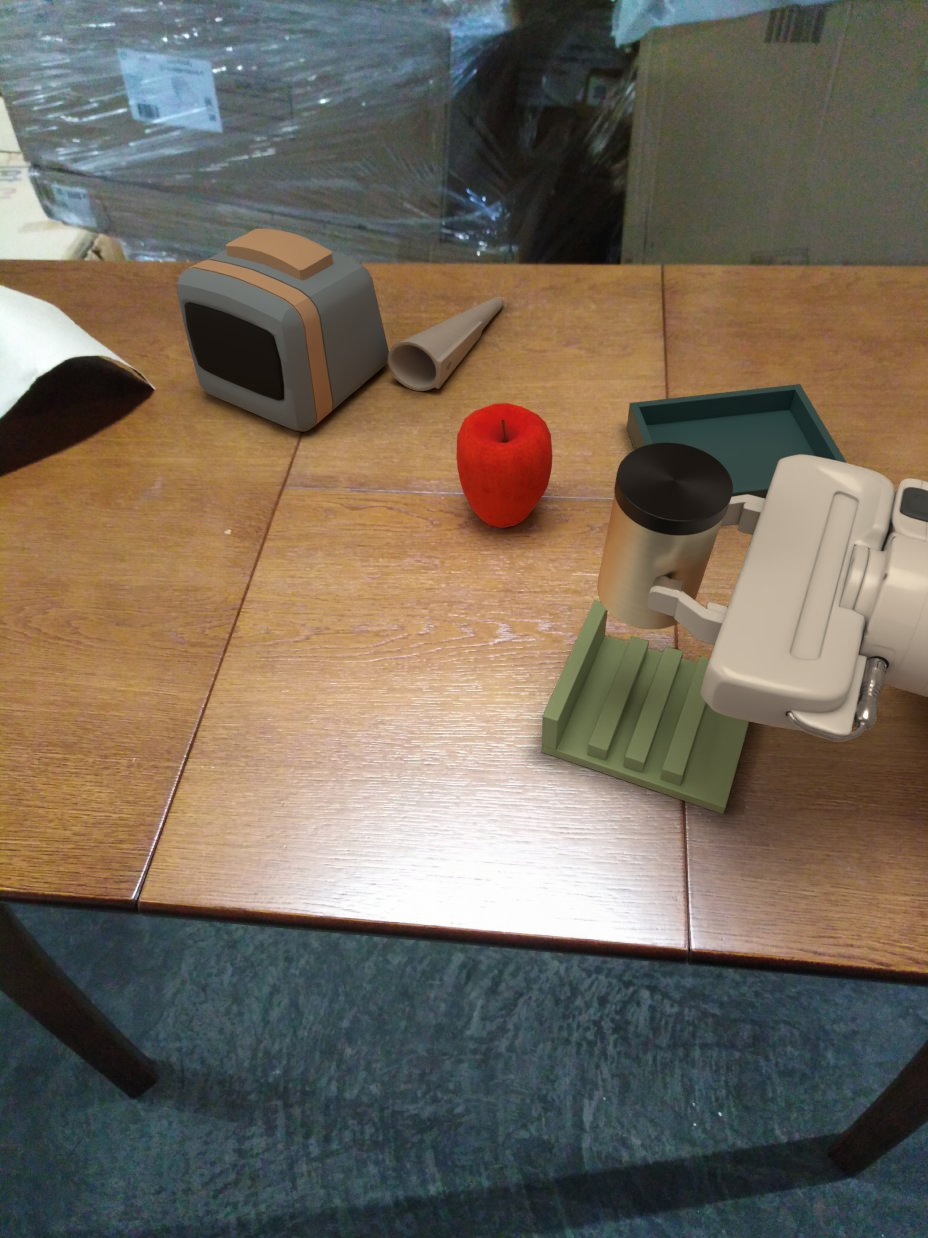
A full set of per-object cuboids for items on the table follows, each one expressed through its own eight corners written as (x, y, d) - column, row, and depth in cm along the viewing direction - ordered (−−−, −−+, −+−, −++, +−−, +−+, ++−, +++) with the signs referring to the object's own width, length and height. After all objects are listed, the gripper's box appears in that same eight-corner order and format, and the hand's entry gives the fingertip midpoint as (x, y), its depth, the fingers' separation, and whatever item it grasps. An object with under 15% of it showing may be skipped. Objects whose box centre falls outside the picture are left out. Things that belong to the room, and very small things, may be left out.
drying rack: (758, 687, 71) (771, 649, 68) (723, 814, 65) (735, 780, 61) (590, 638, 75) (594, 599, 72) (540, 752, 69) (542, 716, 65)
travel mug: (680, 550, 63) (713, 438, 55) (709, 625, 59) (748, 516, 51) (586, 559, 63) (605, 446, 55) (608, 635, 58) (632, 526, 50)
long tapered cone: (461, 263, 108) (388, 333, 95) (510, 278, 106) (442, 352, 94) (456, 307, 112) (386, 380, 99) (503, 322, 110) (438, 398, 98)
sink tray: (792, 410, 93) (800, 383, 91) (846, 505, 84) (856, 478, 82) (626, 428, 93) (629, 402, 90) (662, 526, 83) (666, 500, 81)
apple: (569, 521, 84) (574, 429, 76) (491, 558, 82) (487, 468, 74) (518, 469, 89) (517, 378, 81) (442, 503, 87) (434, 412, 79)
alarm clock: (195, 396, 100) (149, 262, 88) (290, 325, 108) (261, 193, 96) (307, 444, 94) (275, 307, 81) (398, 364, 102) (382, 228, 90)
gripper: (853, 780, 49) (613, 701, 54) (902, 536, 61) (702, 486, 65) (889, 717, 45) (622, 636, 49) (935, 464, 56) (717, 416, 60)
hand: (669, 548), depth 57 cm, fingers closed on travel mug, 6 cm apart
